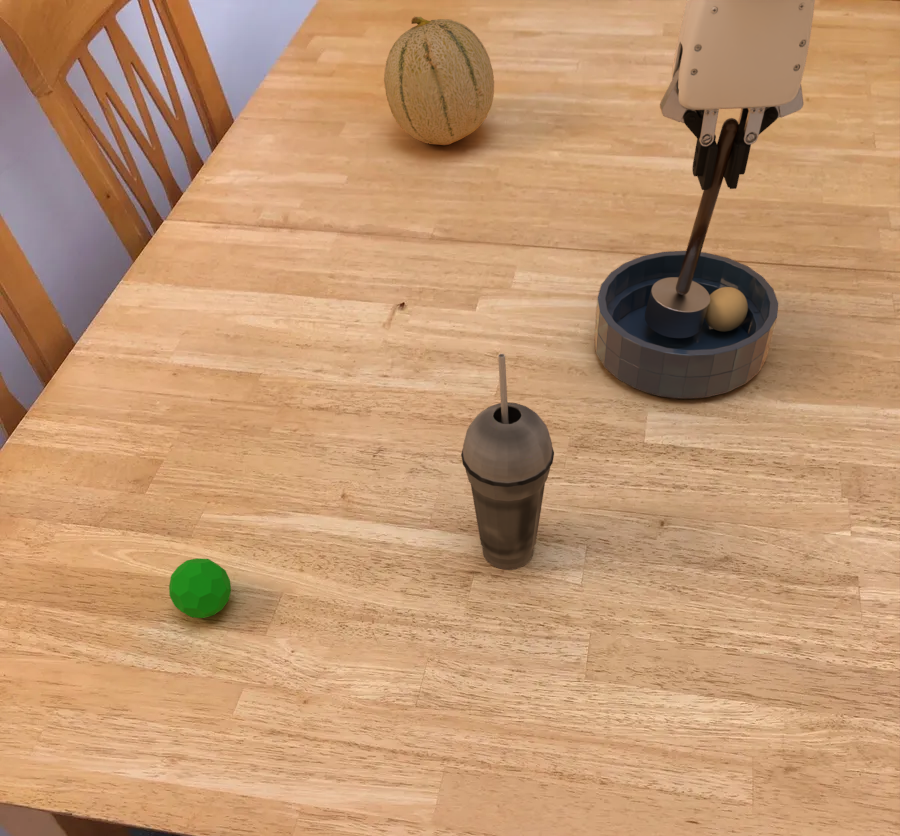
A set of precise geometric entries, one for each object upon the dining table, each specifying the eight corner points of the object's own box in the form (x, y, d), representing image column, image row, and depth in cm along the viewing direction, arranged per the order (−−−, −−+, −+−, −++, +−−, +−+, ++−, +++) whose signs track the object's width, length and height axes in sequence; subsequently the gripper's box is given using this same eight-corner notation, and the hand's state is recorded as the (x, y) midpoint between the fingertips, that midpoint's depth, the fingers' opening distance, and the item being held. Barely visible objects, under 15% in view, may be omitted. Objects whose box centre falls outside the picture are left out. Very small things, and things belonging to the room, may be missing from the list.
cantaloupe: (488, 166, 123) (485, 44, 111) (380, 163, 125) (366, 43, 113) (501, 114, 132) (500, -5, 120) (401, 112, 134) (390, -5, 122)
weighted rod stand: (697, 305, 98) (761, 105, 82) (705, 340, 94) (773, 138, 78) (641, 301, 98) (693, 100, 82) (647, 336, 94) (703, 132, 78)
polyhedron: (248, 602, 79) (234, 566, 75) (203, 638, 77) (187, 603, 73) (211, 574, 81) (196, 538, 78) (167, 608, 79) (149, 572, 76)
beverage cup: (481, 591, 79) (473, 408, 63) (456, 531, 83) (443, 346, 67) (561, 569, 80) (573, 384, 64) (533, 511, 84) (538, 324, 68)
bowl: (746, 296, 102) (757, 246, 97) (782, 400, 91) (796, 350, 87) (586, 304, 103) (590, 255, 98) (603, 408, 92) (607, 359, 87)
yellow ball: (735, 327, 99) (763, 315, 94) (705, 342, 97) (732, 331, 93) (719, 288, 98) (746, 274, 94) (688, 303, 96) (714, 290, 92)
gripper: (853, -76, 72) (793, 158, 87) (650, -66, 72) (624, 165, 87) (881, -41, 67) (813, 200, 82) (665, -31, 68) (634, 207, 82)
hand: (716, 180), depth 84 cm, fingers closed on weighted rod stand
